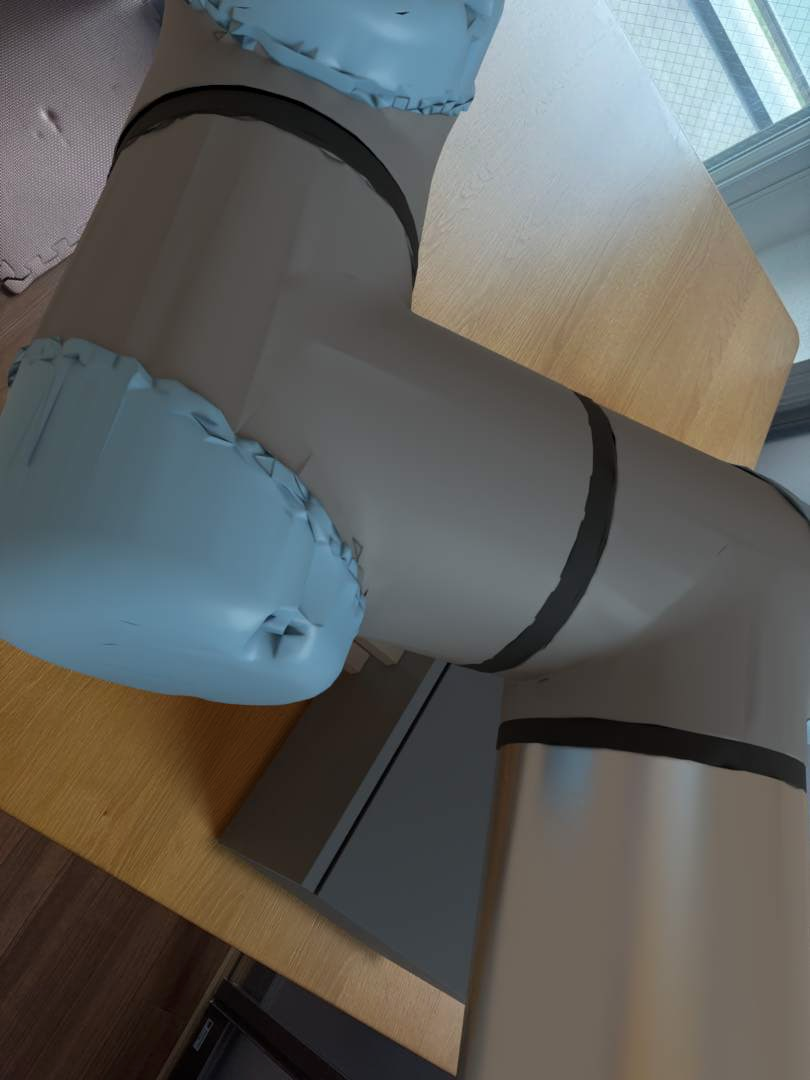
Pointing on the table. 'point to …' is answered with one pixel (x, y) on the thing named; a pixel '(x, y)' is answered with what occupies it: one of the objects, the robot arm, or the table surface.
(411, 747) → the cupboard
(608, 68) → the table surface
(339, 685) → the cupboard door
